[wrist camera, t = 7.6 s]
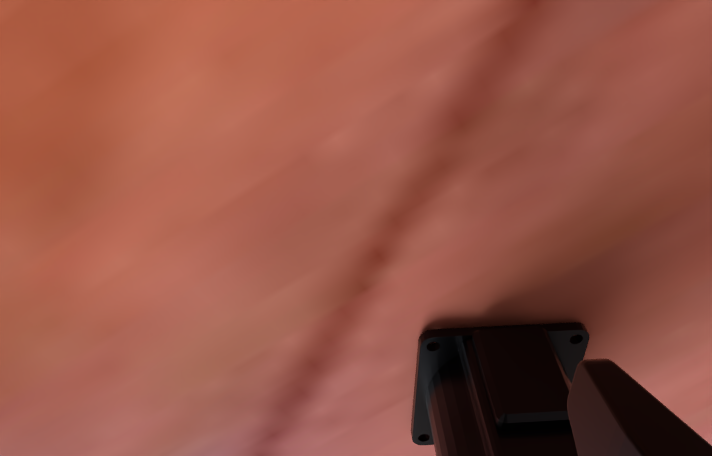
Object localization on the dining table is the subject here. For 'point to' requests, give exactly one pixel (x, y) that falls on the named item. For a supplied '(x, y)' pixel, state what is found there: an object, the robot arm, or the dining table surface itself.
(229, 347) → the dining table surface
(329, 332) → the dining table surface
